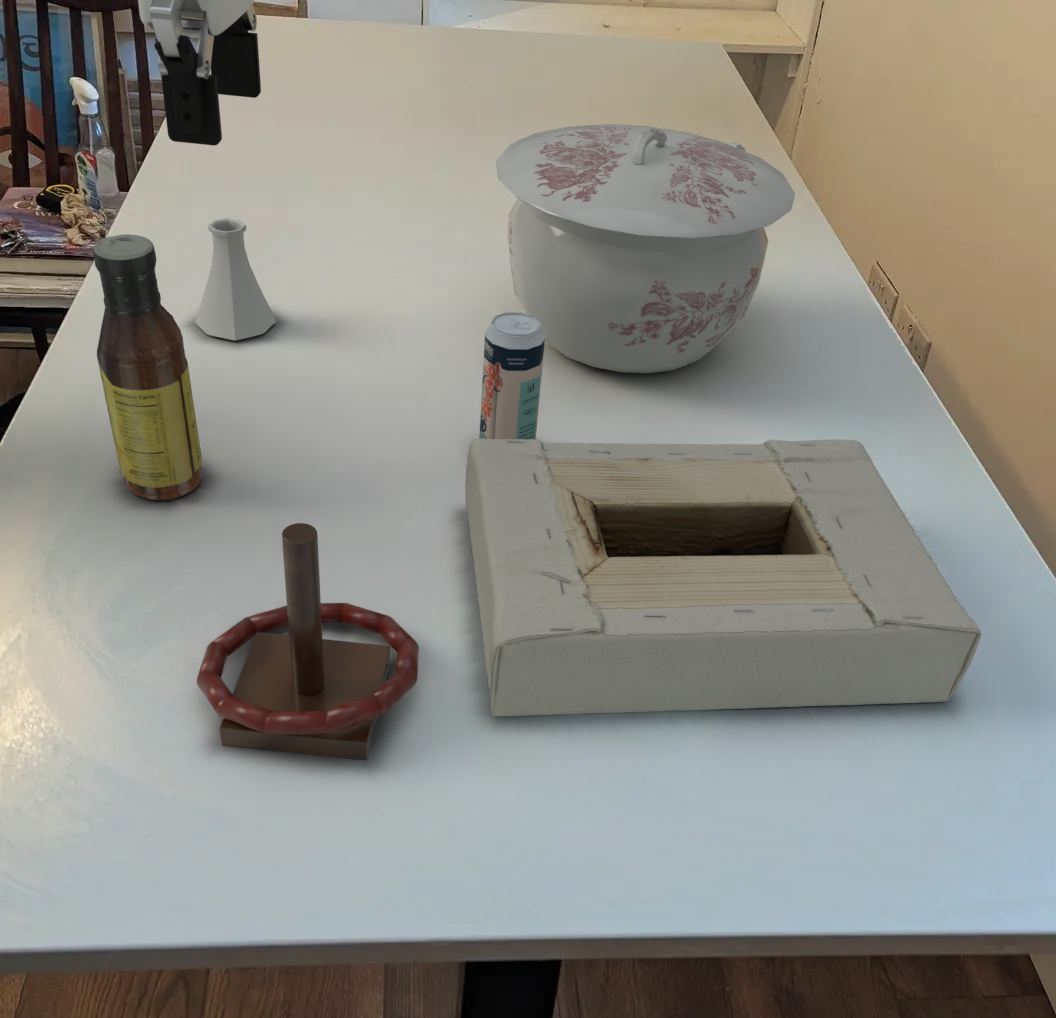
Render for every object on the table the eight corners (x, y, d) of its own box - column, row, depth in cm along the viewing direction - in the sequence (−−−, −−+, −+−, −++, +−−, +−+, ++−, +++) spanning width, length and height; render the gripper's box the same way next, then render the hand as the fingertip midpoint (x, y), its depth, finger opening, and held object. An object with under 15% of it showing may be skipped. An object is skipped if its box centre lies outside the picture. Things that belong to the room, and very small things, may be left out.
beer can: (485, 433, 103) (493, 305, 95) (539, 443, 102) (551, 315, 95) (472, 462, 99) (479, 331, 91) (528, 472, 99) (539, 341, 91)
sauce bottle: (158, 453, 97) (123, 216, 84) (220, 476, 95) (195, 237, 82) (102, 491, 92) (57, 247, 79) (167, 516, 90) (131, 270, 77)
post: (221, 745, 72) (198, 572, 64) (257, 648, 79) (241, 481, 71) (366, 760, 72) (363, 590, 64) (390, 662, 79) (390, 496, 71)
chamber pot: (506, 413, 106) (523, 183, 92) (470, 281, 126) (479, 77, 113) (802, 408, 110) (858, 188, 97) (720, 281, 131) (757, 86, 118)
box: (488, 728, 75) (957, 706, 80) (494, 636, 71) (993, 618, 75) (457, 520, 93) (842, 511, 98) (460, 435, 89) (865, 430, 93)
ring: (182, 741, 70) (178, 722, 69) (221, 617, 82) (219, 600, 81) (415, 737, 71) (414, 718, 70) (421, 615, 83) (420, 598, 82)
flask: (181, 325, 114) (169, 224, 107) (236, 301, 119) (227, 203, 112) (235, 349, 111) (226, 247, 105) (289, 323, 116) (283, 224, 109)
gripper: (169, -220, 73) (198, 73, 83) (64, -188, 59) (114, 156, 70) (291, -208, 72) (303, 84, 83) (212, -173, 59) (240, 169, 70)
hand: (217, 117), depth 77 cm, fingers open, 9 cm apart
